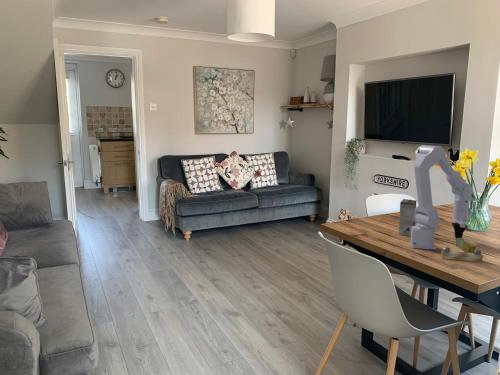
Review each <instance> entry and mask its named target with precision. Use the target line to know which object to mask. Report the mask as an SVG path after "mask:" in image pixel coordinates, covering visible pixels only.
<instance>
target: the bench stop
mask: <svg viewBox="0 0 500 375" xmlns="http://www.w3.org/2000/svg"><path fill="white" fill-rule="evenodd" d="M441 258H442V259H444V260H445V259H446V260H458V261H466V262H467V261H469V262H480V263H482V262H483V255H482V253H481V255H475V254H474V253H467V252H464V251H452V250H450V252H449V253H446V252H443V249H442V250H441Z"/></svg>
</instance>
